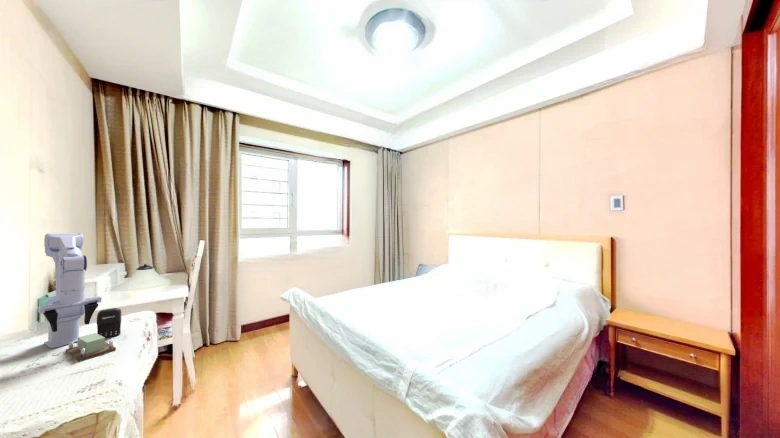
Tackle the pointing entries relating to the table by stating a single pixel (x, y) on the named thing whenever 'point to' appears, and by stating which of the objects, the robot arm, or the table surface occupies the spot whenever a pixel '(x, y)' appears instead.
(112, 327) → the battery charger
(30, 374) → the table surface
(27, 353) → the table surface
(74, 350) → the chassis
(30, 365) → the table surface
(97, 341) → the pale green block
